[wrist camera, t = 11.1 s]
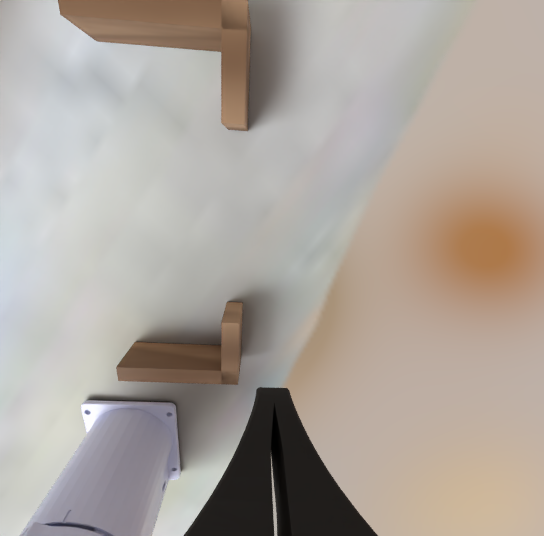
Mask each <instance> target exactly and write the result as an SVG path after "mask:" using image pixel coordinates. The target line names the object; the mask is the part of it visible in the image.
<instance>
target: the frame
mask: <svg viewBox="0 0 544 536" xmlns="http://www.w3.org/2000/svg"><path fill="white" fill-rule="evenodd" d="M58 3H59V9H60V15H62V16H63V17H64V18H66V19H67V20H69V21H70V22H71V23H73V24H74V25H75V26H77V27H78V28H79V29H81V30H82V31H84V32H85V33H86V34H88V35H89V36H90V37H92V38H93V39H94V40H96V41H99V42H111V43H123V44H135V45H147V46H159V47H170V48H182V49H194V50H206V51H218V52H221V123H222V124H223V125H224V126H225V127H226V128H227V129H228V130H241V131H248V107H249V73H250V39H251V25H250V16H249V6H248V0H58ZM242 310H243V303H239V302H227V304H226V308H225V311H224V315H223V319H222V322H221V345H198V344H171V343H145V342H135V343H134V344H133V345H132V347H131V348H130V349H129V351H128V352H127V353H126V355H125V356H124V357H123V359H122V360H121V362H120V363H119V364H118V366H117V367H116V369H117V375H118V381H139V382H170V383H201V384H232V385H238V379H239V371H240V363H241V344H242Z"/></svg>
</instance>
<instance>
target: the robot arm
mask: <svg viewBox="0 0 544 536" xmlns="http://www.w3.org/2000/svg"><path fill="white" fill-rule="evenodd" d="M81 410H82V414H83V419H84V423H85V428H86V432H87V435H86V436H85V438H84V439H83V441H82V442H81V444H80V445H79V447H78V448H77V450H76V451H75V453H74V454H73V456H72V457H71V459H70V460H69V462H68V463H67V465H66V466H65V468H64V469H63V471H62V472H61V474H60V475H59V477H58V478H57V480H56V481H55V483H54V484H53V486H52V487H51V489H50V490H49V492H48V493H47V495H46V496H45V498H44V499H43V501H42V503H41V504H40V506H39V507H38V509H37V510H36V512H35V513H34V515H33V516H32V518H31V519H30V521H29V522H28V524H27V525H26V527H25V528H24V530H23V531H22V533H21V534H20V536H152V533H153V530H154V526H155V523H156V520H157V517H158V513H159V510H160V507H161V504H162V500H163V497H164V494H165V490H166V487H167V484H168V481H169V480H176V479H179V478H180V474H181V470H180V456H179V442H178V429H177V415H176V406H175V405H174V404H173V403H164V402H129V401H95V400H87V401H84V402H83V404H82V405H81ZM169 412H170V413H169ZM271 457H272V467H273V478H274V489H275V499H276V512H277V535H278V536H378V535H377V534H376V533H375V532H374V531H373V529H372V528H371V527H370V526H369V525H368V523H367V522H366V521H365V520H364V519H363V517H362V516H361V515H360V514H359V513H358V511H357V510H356V509H355V507H354V506H353V505H352V503H351V502H350V501H349V500H348V498H347V497H346V496H345V494H344V493H343V491H342V490H341V489H340V487H339V486H338V485H337V483H336V482H335V480H334V479H333V477H332V476H331V474H330V473H329V471H328V470H327V468H326V466H325V465H324V463H323V462H322V460H321V458H320V457H319V455H318V454H317V451H316V450H315V448H314V446H313V444H312V443H311V441H310V439H309V437H308V435H307V433H306V431H305V429H304V427H303V425H302V423H301V420H300V418H299V416H298V414H297V411H296V409H295V406H294V404H293V401H292V398H291V395H290V392H289V390H288V389H287V388H262V387H259V388H258V389H257V391H256V398H255V402H254V406H253V409H252V412H251V415H250V418H249V421H248V424H247V426H246V429H245V431H244V434H243V436H242V438H241V441H240V443H239V445H238V447H237V449H236V452H235V454H234V456H233V458H232V460H231V462H230V463H229V465H228V467H227V469H226V471H225V473H224V475H223V476H222V478H221V480H220V481H219V483H218V485H217V487H216V488H215V490H214V492H213V493H212V495H211V496H210V498H209V500H208V501H207V503H206V504H205V506H204V507H203V509H202V510H201V512H200V513H199V515H198V516H197V518H196V519H195V521H194V522H193V524H192V525H191V526H190V528H189V529H188V530H187V532H186V533H185V534H184V536H274V524H273V523H274V522H273V504H272V503H273V502H272V480H271V479H272V478H271Z"/></svg>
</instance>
